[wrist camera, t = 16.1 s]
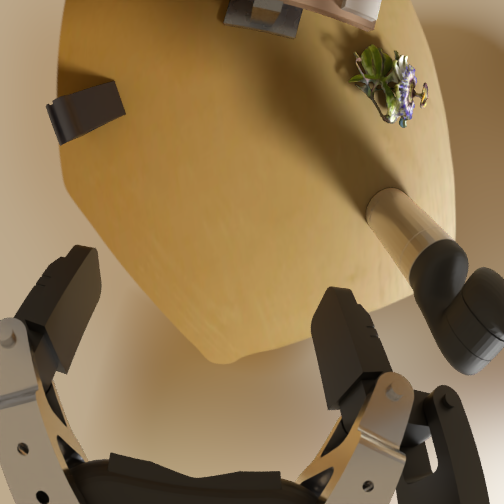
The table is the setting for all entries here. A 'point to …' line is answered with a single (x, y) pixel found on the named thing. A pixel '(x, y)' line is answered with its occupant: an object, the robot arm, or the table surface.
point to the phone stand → (84, 111)
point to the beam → (344, 10)
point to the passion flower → (401, 74)
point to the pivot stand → (264, 16)
